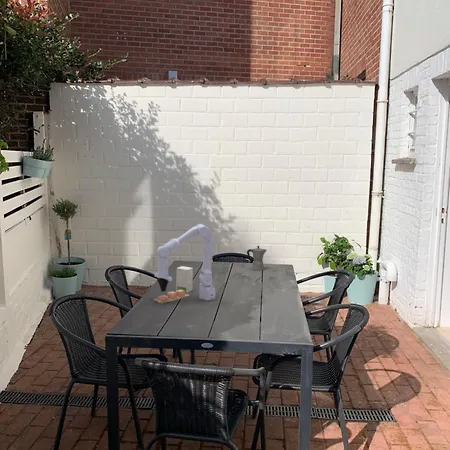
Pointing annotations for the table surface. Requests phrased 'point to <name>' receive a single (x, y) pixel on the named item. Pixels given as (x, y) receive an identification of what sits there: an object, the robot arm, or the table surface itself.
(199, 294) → the robot arm
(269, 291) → the table surface
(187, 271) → the skincare box
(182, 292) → the tile one
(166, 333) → the table surface
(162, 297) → the tile three
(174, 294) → the tile two
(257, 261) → the coffeepot
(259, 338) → the table surface
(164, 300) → the board
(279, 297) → the table surface
